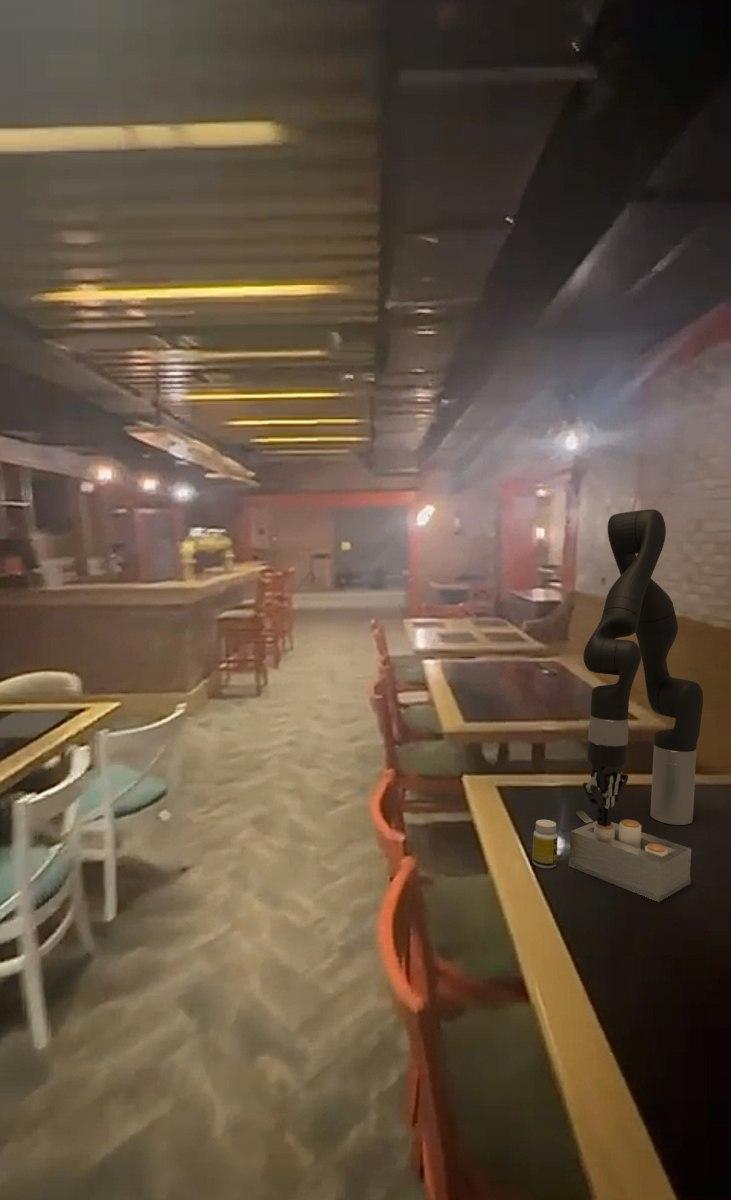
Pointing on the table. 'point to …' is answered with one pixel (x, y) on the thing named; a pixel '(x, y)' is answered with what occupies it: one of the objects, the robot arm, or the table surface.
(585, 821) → the fork
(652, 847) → the knob
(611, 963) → the table surface
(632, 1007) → the table surface
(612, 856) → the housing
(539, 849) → the supplement bottle
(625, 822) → the knob
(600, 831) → the knob
